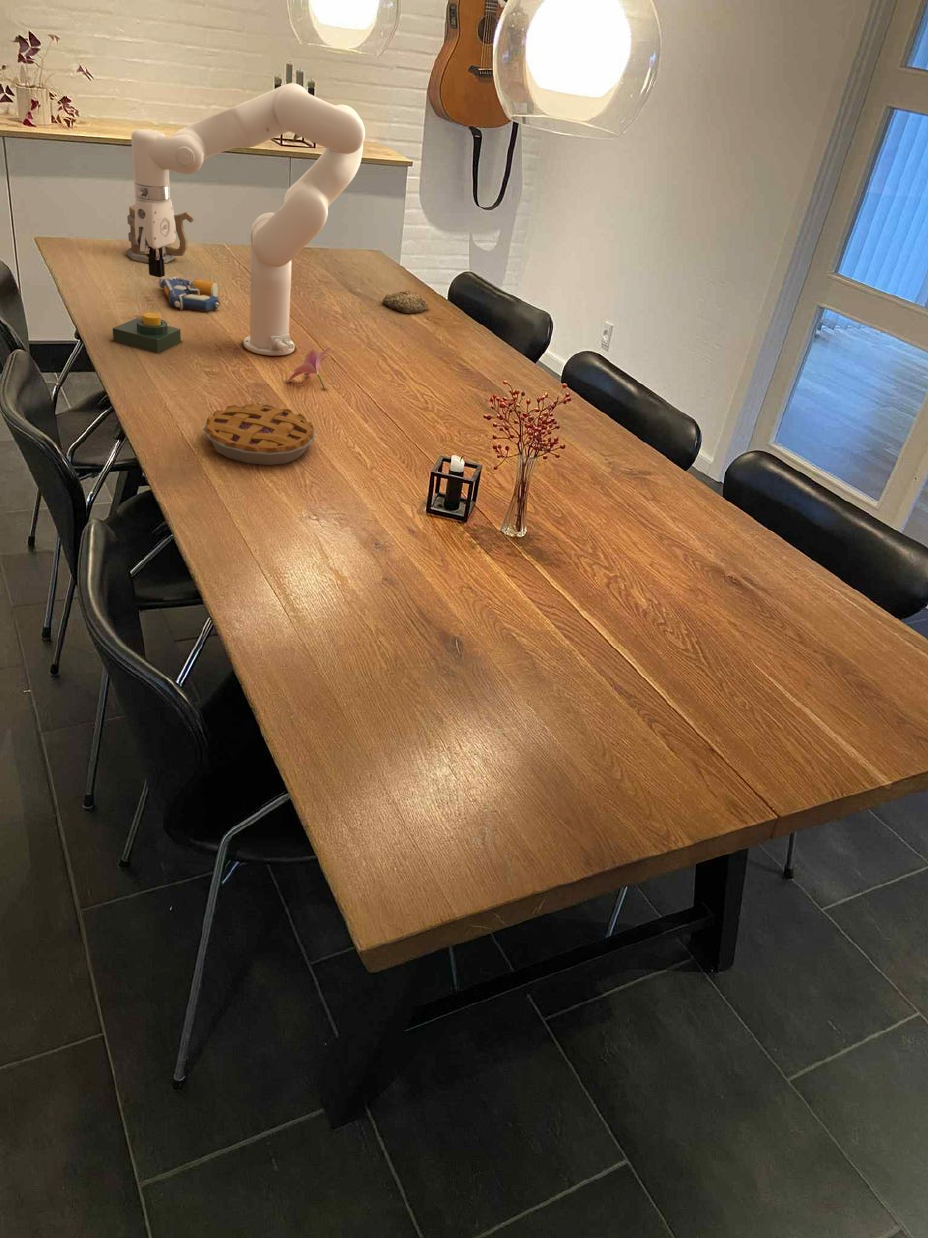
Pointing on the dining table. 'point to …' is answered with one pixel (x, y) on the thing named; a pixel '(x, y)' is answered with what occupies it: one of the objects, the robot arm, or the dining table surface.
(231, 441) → the pie
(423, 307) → the bread roll
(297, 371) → the lily
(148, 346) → the button block
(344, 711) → the dining table surface
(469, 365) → the dining table surface
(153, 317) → the yellow push button
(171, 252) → the tankard
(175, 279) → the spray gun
